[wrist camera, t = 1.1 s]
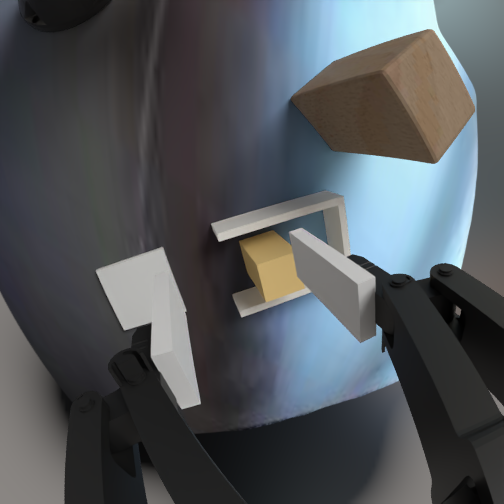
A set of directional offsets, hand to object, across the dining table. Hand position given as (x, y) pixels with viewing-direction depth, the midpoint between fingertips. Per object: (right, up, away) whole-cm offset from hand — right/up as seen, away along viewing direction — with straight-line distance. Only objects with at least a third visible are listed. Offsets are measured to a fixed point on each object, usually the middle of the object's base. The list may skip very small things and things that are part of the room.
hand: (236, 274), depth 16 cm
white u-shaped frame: (+5, +2, +28) cm, 29 cm away
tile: (-15, -4, +25) cm, 29 cm away
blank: (+2, +1, +28) cm, 28 cm away
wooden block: (+12, +22, +23) cm, 34 cm away
